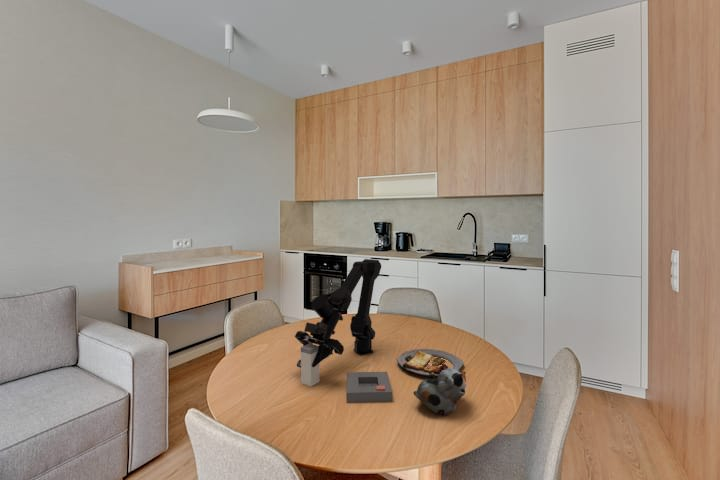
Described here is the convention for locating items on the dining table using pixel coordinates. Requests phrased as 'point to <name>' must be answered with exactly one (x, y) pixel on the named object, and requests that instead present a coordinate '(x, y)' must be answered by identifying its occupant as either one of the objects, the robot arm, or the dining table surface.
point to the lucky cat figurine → (442, 390)
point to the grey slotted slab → (368, 387)
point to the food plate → (427, 361)
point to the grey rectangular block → (309, 365)
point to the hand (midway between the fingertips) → (307, 365)
